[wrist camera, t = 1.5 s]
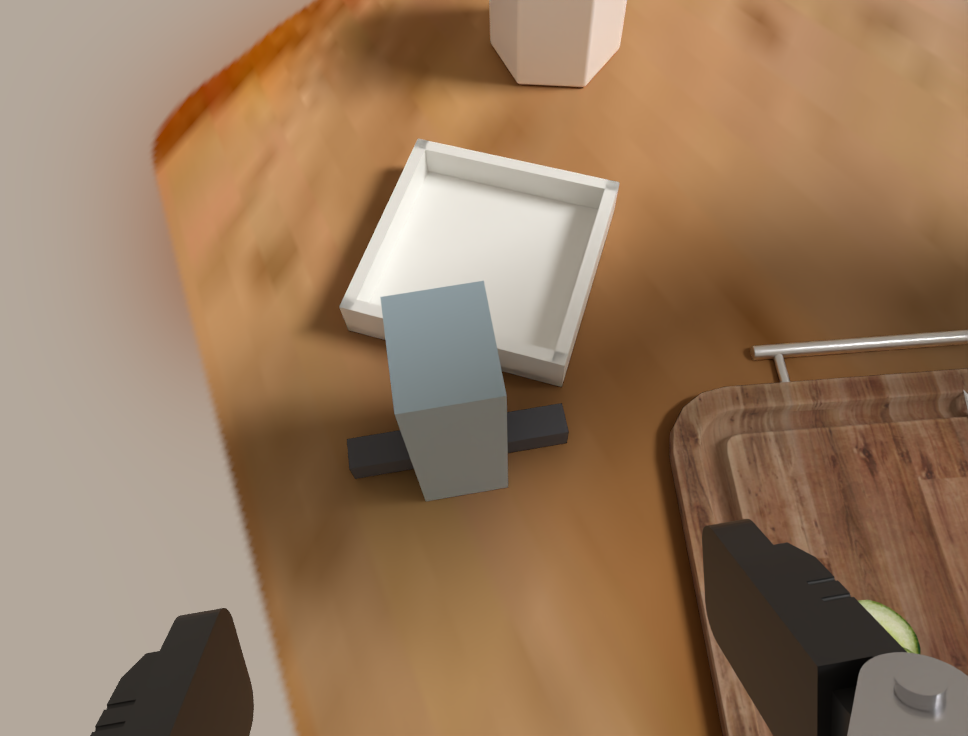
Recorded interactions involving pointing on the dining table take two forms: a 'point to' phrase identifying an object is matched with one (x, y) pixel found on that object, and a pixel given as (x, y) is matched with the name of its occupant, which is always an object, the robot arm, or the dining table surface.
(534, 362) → the parts tray
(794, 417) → the chopping board
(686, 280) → the dining table surface
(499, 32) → the jar
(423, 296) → the tall gray-blue pillar
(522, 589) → the dining table surface
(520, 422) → the long charcoal bar
